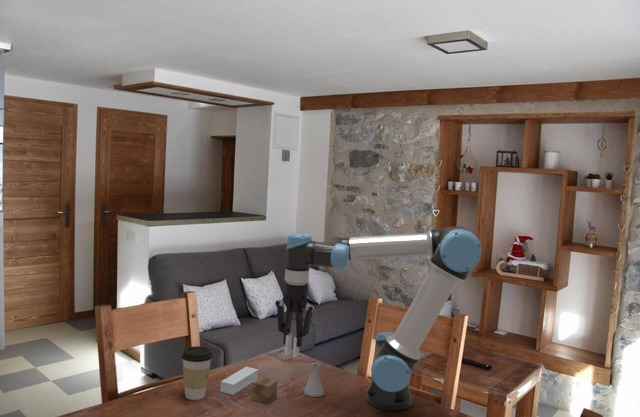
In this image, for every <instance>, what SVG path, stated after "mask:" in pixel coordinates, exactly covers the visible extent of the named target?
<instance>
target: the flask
mask: <svg viewBox="0 0 640 417" xmlns="http://www.w3.org/2000/svg"><path fill="white" fill-rule="evenodd" d="M310 366H311V372H310V375H309V377H308V379H307V380H308V381H307V382H306V385H305V387H304V389H303V393H304V394H303V395H305V396H309V397H311V398H321V397H323V395H325V391H324V387H323V384H322V380H321V375H320V368H321V363H320V364H319V363H318V362H316V363H315V362H313V363H311V365H310Z"/></svg>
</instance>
